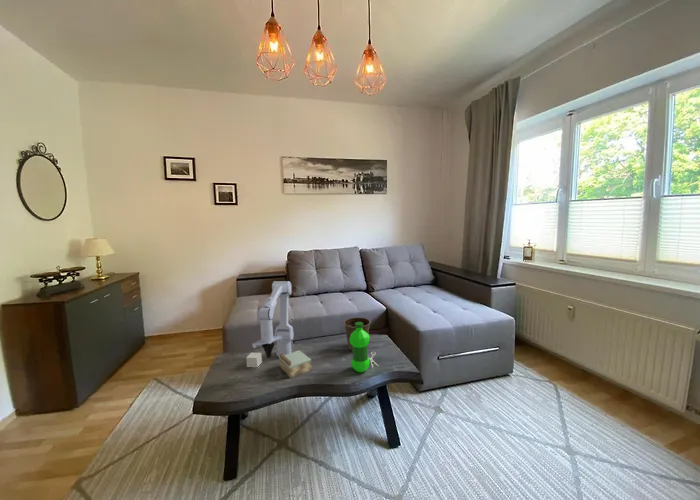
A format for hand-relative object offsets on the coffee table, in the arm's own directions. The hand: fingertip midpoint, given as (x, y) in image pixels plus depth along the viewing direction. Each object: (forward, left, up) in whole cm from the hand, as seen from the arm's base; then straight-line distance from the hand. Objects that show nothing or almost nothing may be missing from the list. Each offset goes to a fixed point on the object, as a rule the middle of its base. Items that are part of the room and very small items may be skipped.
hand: (268, 357), depth 145 cm
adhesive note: (-17, -2, -11) cm, 20 cm away
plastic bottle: (+24, +40, -11) cm, 48 cm away
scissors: (+19, +51, -11) cm, 55 cm away
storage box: (+1, +14, -10) cm, 17 cm away
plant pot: (+2, +55, -11) cm, 56 cm away
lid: (+1, +14, -5) cm, 15 cm away
